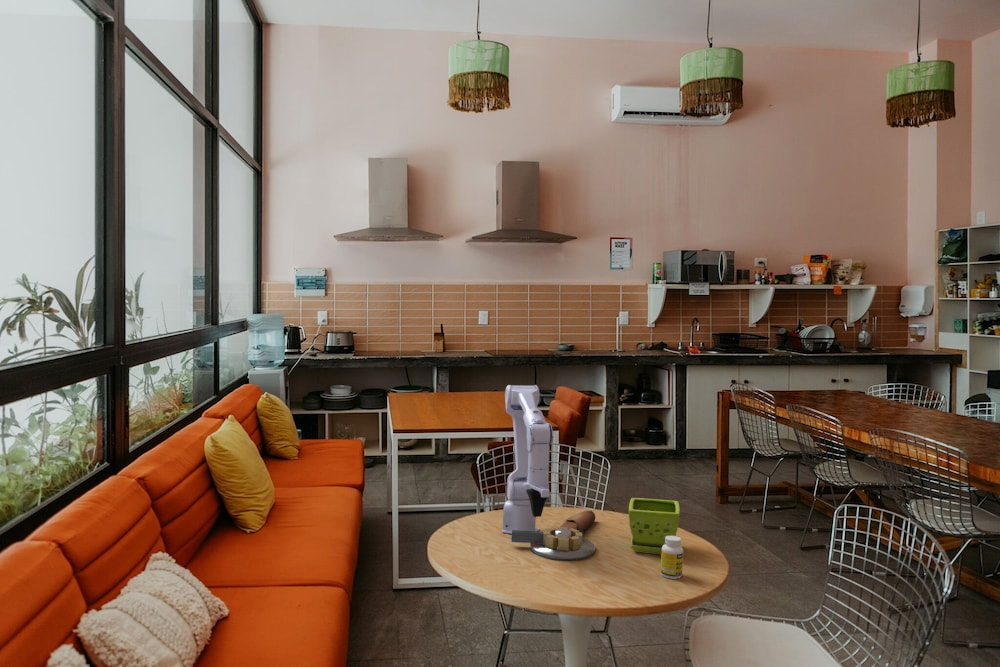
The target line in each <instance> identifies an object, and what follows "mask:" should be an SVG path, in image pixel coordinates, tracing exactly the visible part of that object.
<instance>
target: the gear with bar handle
mask: <svg viewBox="0 0 1000 667" xmlns="http://www.w3.org/2000/svg"><path fill="white" fill-rule="evenodd" d="M558 528H565V529H567V527H560V526H557V527H549V528H545V530H543V531H540V530H539V531H520V530H512V534H511V539H510V540H511V543H523V544H530V543H542V544H543V545H545V546H546V547H548V548H551V549H555V548H557V541H558V550H564V551H568V545H569V549H572V550H576V549H579V548H580V546H582V538H584V536H583V534H582V532H580V531H579V530H576V529H573V528H571V529H569V530H571V537H569V538H564V537H556V536H555V530H556V529H558Z"/></svg>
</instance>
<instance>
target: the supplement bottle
mask: <svg viewBox="0 0 1000 667" xmlns="http://www.w3.org/2000/svg"><path fill="white" fill-rule="evenodd" d="M665 543H666V544H664V545H663V546H662V554H660V555H661V557H660V558H661V559H660V575H661V576H662V577H664V578H665V579H672V580H676V579H677V578H678V579H681V578H682V577H681V576H683V564H684V548H683V547H682V546H681V545H682V538H681V537H680V536H677V535H676V536H666V537H665ZM680 577H681V578H680ZM678 579H677V580H678Z"/></svg>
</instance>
